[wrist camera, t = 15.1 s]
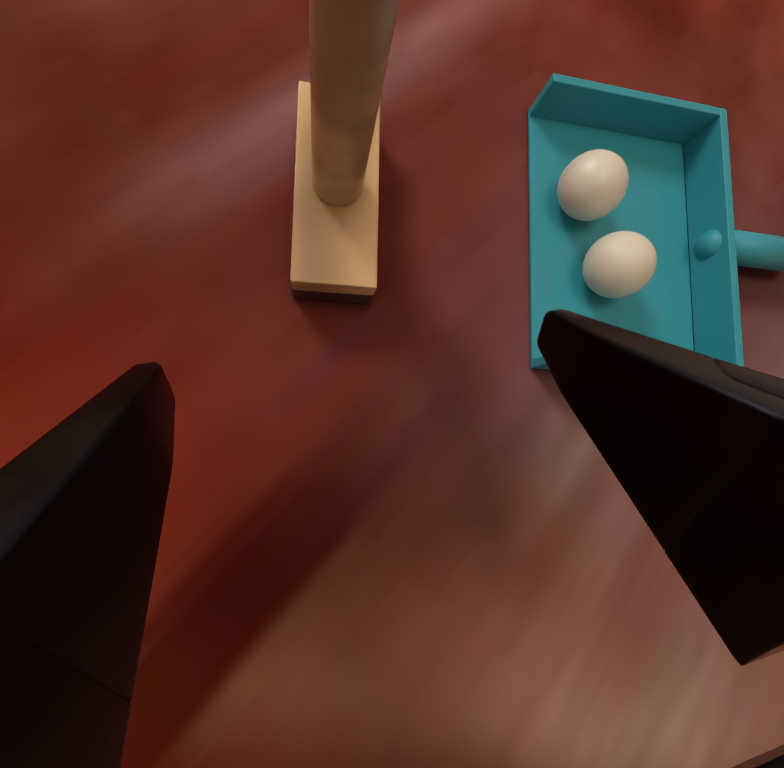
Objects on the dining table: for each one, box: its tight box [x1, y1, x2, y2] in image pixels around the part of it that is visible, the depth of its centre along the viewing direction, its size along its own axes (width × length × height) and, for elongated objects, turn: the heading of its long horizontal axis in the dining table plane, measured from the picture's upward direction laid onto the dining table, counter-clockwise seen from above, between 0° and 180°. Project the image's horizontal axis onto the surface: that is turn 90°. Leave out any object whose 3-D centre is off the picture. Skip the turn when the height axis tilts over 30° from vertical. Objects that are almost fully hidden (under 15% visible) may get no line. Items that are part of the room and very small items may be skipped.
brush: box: [290, 0, 400, 304], centre depth 15 cm, size 4×10×13 cm, turn 179°
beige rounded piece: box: [582, 231, 657, 298], centre depth 22 cm, size 4×4×4 cm
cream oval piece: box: [557, 149, 629, 221], centre depth 22 cm, size 4×4×4 cm
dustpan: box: [528, 73, 784, 369], centre depth 24 cm, size 18×16×3 cm
